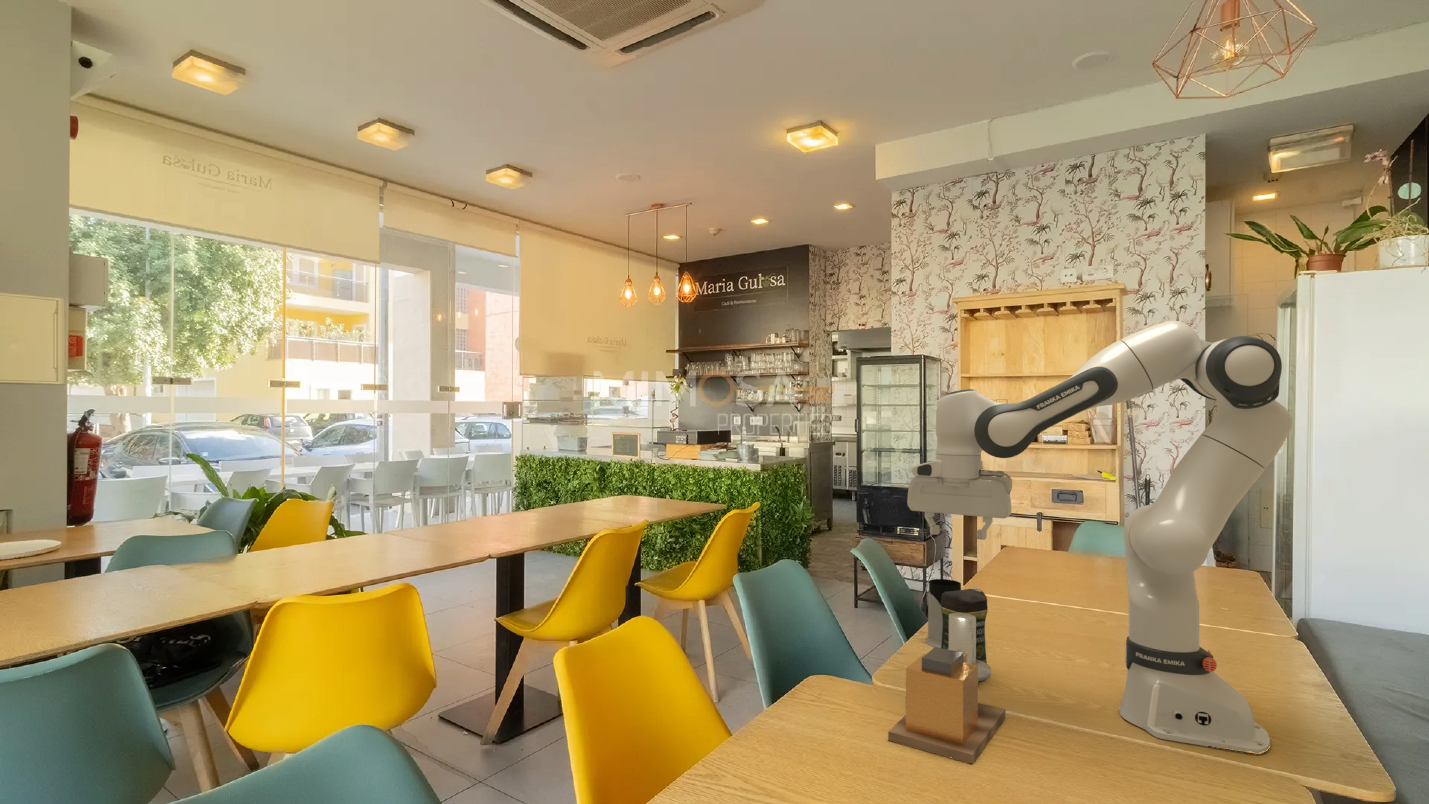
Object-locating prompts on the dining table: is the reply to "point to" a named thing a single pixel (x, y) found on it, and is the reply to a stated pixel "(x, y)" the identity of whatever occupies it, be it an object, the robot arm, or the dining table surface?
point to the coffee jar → (968, 604)
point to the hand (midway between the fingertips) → (957, 536)
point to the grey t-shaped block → (942, 661)
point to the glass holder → (938, 608)
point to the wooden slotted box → (947, 689)
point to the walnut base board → (968, 752)
